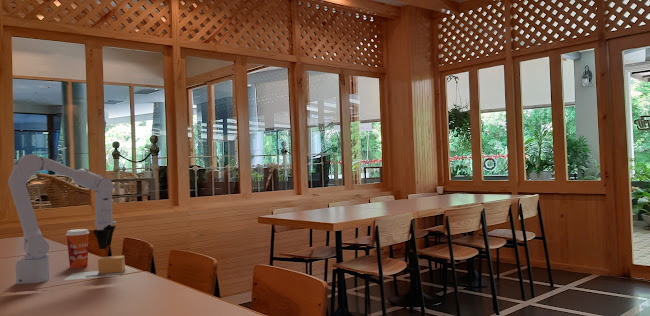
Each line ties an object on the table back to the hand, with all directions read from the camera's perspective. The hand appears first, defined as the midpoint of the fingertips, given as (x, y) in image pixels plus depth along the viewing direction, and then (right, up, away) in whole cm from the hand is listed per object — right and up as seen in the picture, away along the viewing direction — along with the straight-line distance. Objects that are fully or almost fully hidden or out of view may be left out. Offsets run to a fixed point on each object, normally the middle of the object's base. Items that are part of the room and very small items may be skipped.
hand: (105, 247), depth 188 cm
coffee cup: (-14, -10, +8) cm, 19 cm away
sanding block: (+4, -8, -3) cm, 10 cm away
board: (0, -9, -7) cm, 12 cm away
